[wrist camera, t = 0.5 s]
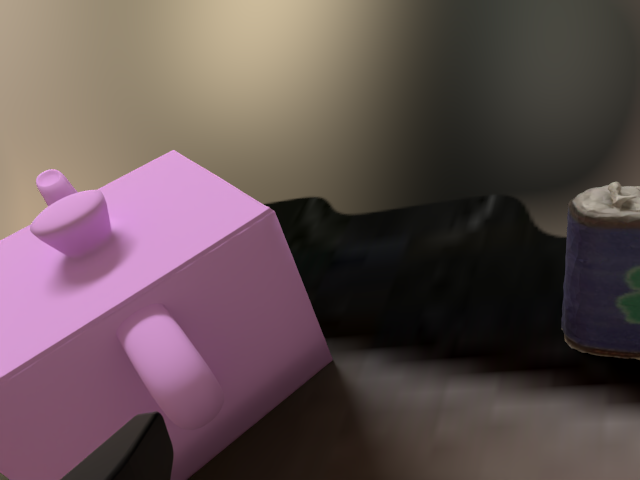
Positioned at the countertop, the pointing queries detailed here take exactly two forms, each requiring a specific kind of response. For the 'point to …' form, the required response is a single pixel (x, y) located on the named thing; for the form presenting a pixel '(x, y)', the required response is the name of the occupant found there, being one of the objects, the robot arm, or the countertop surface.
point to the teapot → (147, 318)
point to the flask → (603, 272)
